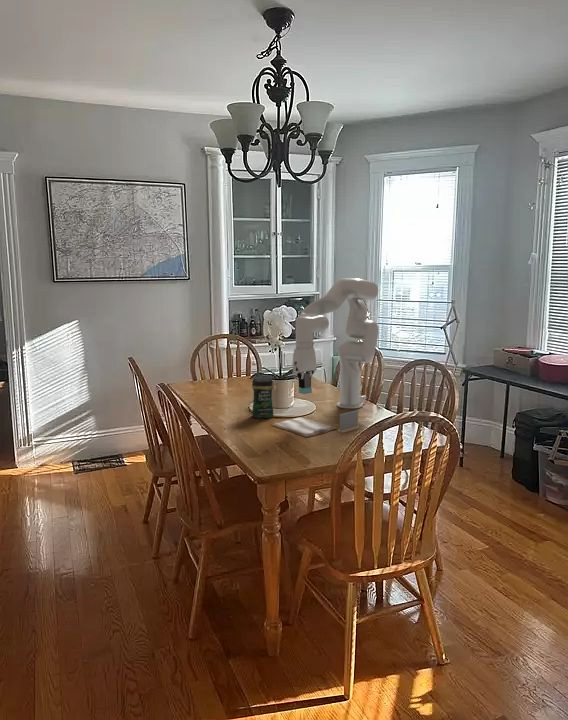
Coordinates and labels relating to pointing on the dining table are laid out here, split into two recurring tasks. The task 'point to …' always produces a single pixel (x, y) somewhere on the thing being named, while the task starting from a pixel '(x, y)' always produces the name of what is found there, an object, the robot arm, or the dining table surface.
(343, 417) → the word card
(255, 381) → the coffee jar
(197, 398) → the dining table surface
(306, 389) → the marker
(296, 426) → the white flat pad
